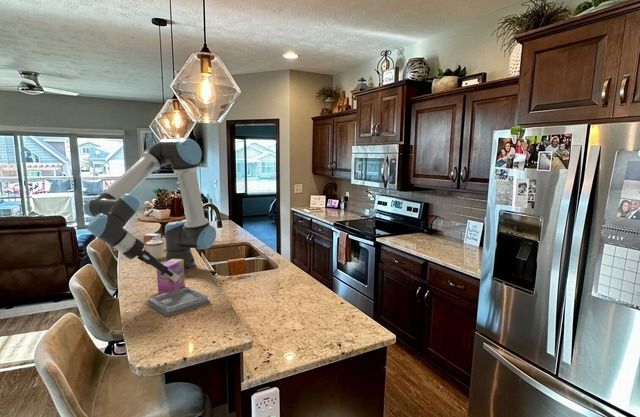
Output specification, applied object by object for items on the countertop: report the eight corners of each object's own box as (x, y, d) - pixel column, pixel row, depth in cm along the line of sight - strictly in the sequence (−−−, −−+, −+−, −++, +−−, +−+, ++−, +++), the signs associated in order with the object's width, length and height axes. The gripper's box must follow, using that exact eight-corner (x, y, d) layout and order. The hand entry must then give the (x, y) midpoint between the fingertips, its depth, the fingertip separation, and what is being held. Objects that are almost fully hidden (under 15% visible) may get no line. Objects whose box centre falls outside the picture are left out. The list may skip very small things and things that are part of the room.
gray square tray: (189, 292, 140) (189, 289, 140) (209, 303, 129) (209, 300, 129) (148, 304, 128) (148, 301, 128) (167, 316, 117) (166, 313, 117)
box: (170, 294, 138) (168, 266, 136) (157, 293, 139) (155, 265, 138) (185, 285, 148) (183, 259, 147) (173, 285, 149) (172, 258, 148)
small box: (144, 252, 207) (143, 235, 206) (150, 249, 213) (149, 233, 211) (156, 252, 206) (155, 235, 205) (161, 250, 211) (160, 233, 210)
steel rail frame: (188, 290, 139) (188, 287, 139) (207, 300, 129) (207, 296, 129) (150, 301, 128) (149, 297, 128) (167, 312, 118) (167, 308, 118)
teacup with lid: (164, 255, 199) (163, 235, 198) (164, 259, 191) (163, 238, 190) (141, 257, 194) (139, 237, 193) (140, 261, 186) (139, 240, 185)
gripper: (114, 248, 138) (155, 276, 150) (130, 260, 120) (176, 290, 132) (127, 233, 141) (167, 261, 153) (146, 243, 123) (189, 274, 135)
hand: (171, 275), depth 143 cm, fingers open, 13 cm apart
